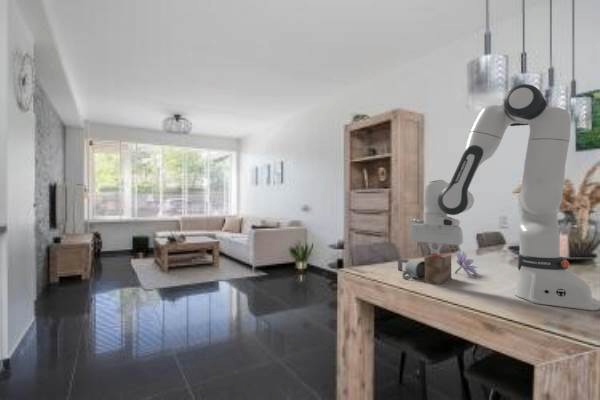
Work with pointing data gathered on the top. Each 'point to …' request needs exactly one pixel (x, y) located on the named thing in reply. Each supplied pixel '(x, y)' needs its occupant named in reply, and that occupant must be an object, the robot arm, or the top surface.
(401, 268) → the handrail
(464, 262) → the water lily
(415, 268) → the ceramic mug
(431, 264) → the brown rectangular block
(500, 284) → the top surface
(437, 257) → the gauge button
